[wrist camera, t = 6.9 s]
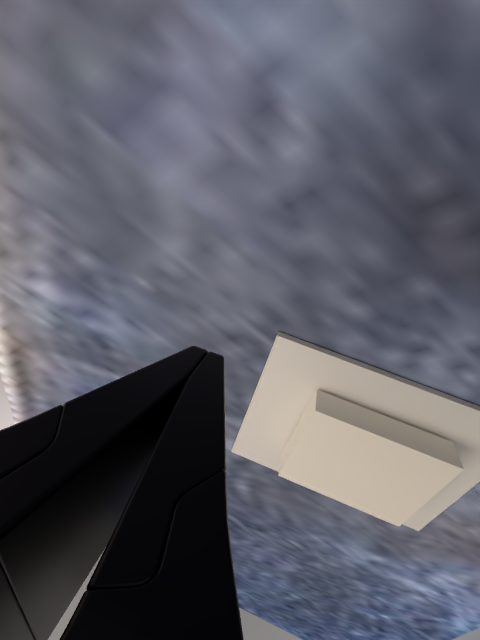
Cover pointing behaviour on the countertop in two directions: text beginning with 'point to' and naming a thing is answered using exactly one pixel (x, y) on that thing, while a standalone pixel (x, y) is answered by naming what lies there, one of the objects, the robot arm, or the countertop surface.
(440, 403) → the beige board
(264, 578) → the countertop surface
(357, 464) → the tile
